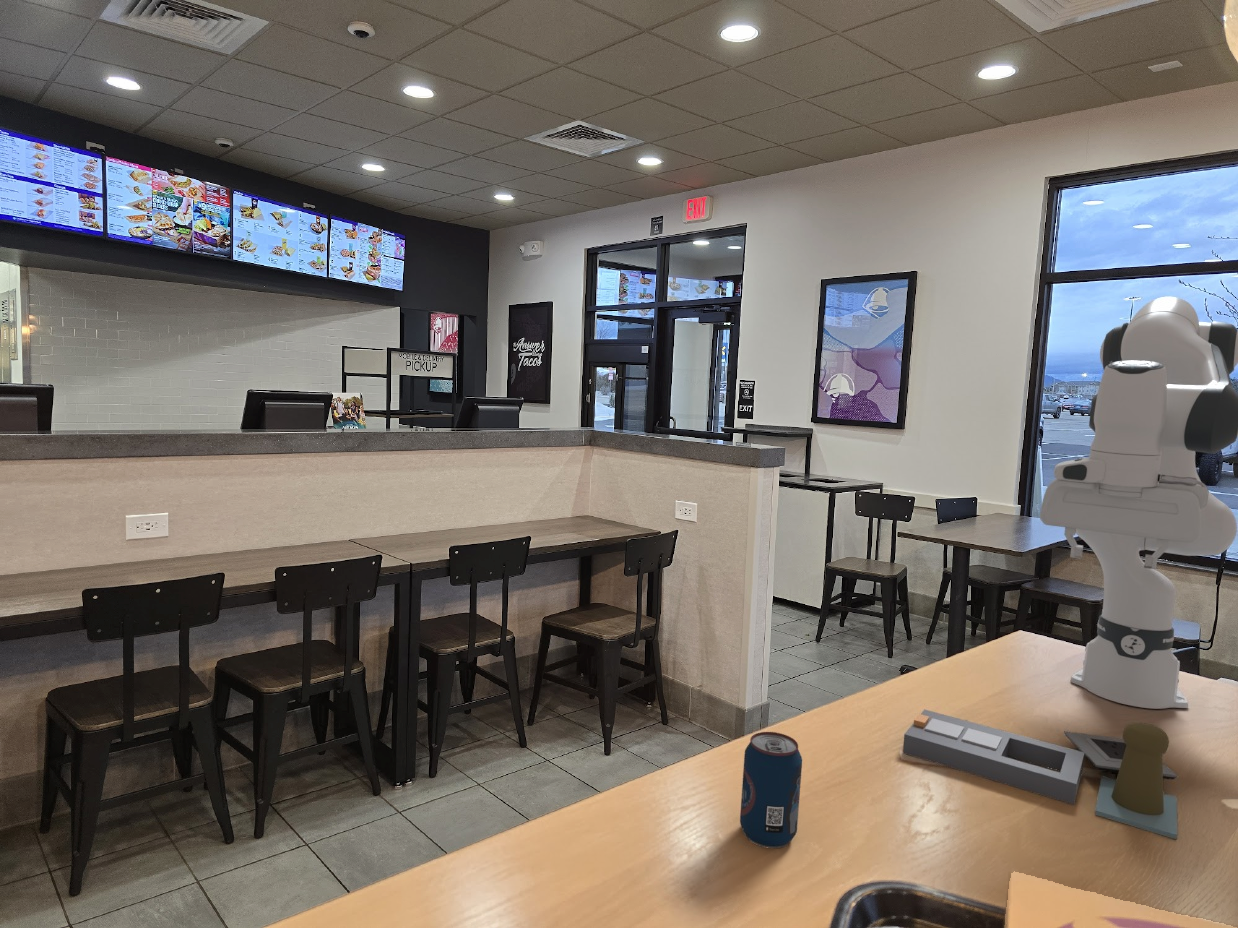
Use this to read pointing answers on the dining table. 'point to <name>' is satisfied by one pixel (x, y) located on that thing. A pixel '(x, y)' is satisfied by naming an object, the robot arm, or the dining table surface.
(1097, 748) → the grey picture frame
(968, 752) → the grey slotted tray
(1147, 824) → the rubber mat
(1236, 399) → the robot arm
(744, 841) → the dining table surface
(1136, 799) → the cork
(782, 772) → the soda can
